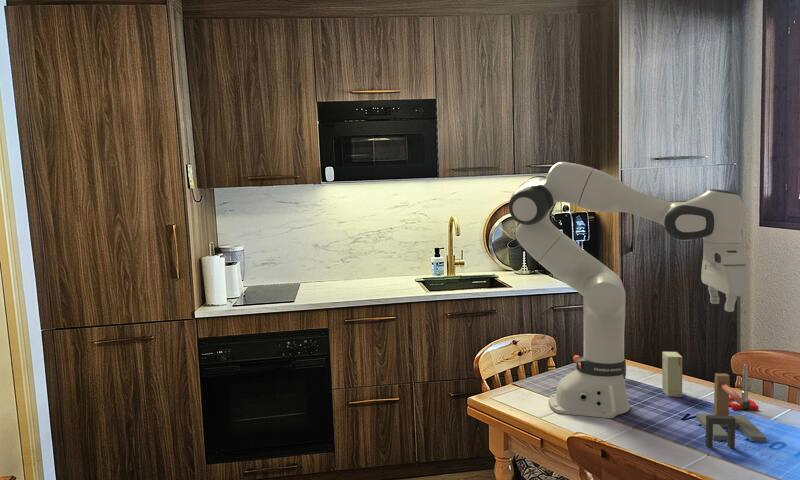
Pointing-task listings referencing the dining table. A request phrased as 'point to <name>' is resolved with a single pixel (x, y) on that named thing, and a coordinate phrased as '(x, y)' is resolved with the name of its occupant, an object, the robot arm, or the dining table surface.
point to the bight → (723, 421)
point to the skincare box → (672, 374)
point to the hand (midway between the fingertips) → (721, 307)
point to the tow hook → (744, 396)
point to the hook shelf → (722, 409)
